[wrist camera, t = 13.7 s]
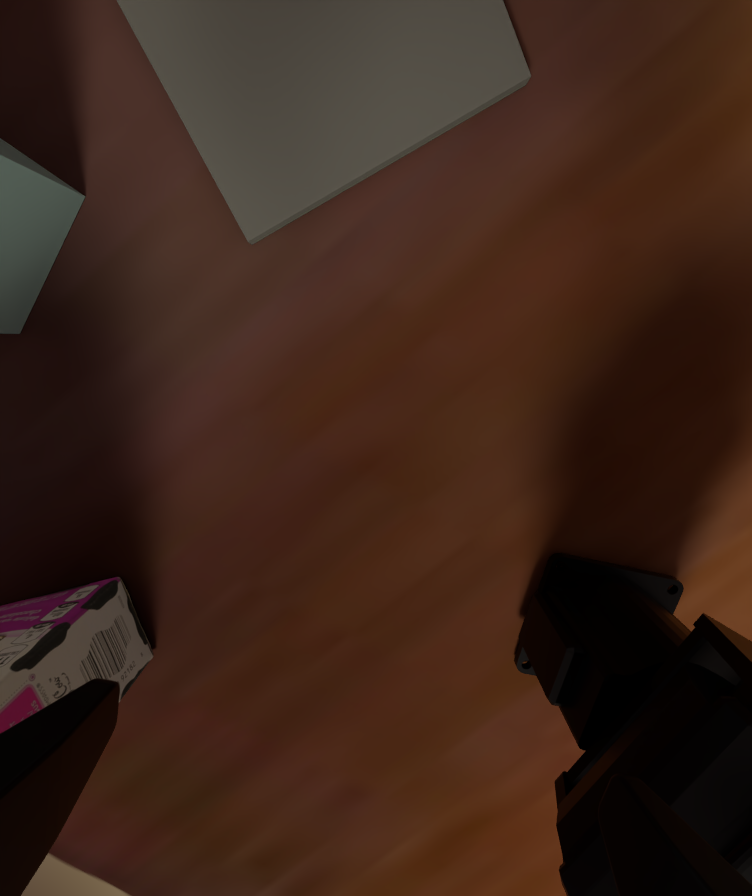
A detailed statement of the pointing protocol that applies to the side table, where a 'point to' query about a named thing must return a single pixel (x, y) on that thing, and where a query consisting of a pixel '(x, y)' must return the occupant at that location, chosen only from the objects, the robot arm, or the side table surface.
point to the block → (29, 231)
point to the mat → (321, 88)
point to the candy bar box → (67, 646)
